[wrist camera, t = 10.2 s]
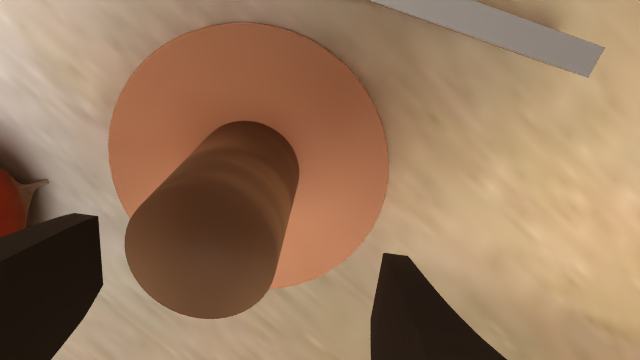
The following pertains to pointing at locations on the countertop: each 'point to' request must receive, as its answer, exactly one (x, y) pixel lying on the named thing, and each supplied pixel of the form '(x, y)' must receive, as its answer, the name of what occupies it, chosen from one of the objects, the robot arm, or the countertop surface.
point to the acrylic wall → (504, 31)
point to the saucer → (267, 108)
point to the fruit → (14, 202)
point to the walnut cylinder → (216, 223)
